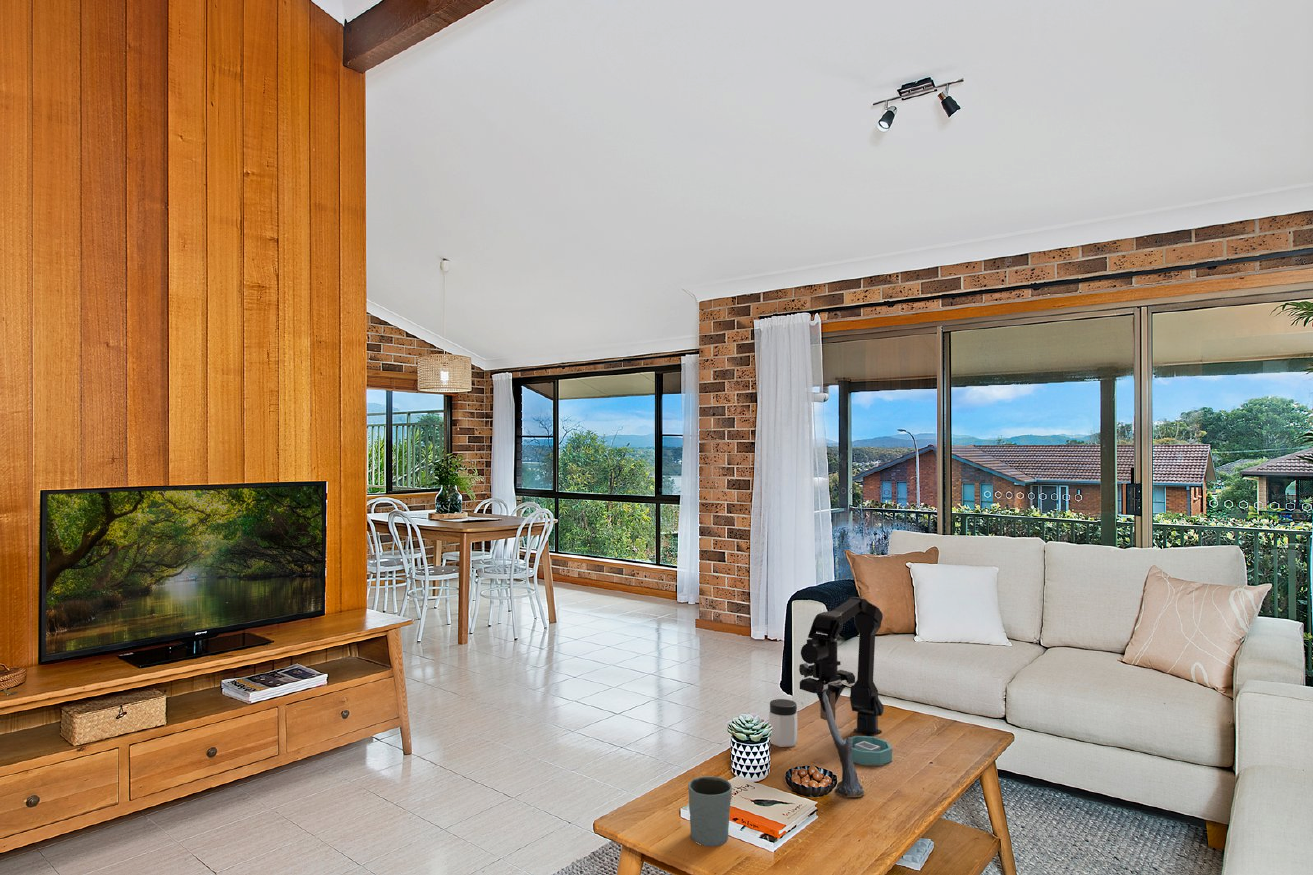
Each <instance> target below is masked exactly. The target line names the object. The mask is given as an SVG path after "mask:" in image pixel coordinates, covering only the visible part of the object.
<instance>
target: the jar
mask: <svg viewBox="0 0 1313 875" xmlns="http://www.w3.org/2000/svg"><path fill="white" fill-rule="evenodd" d="M797 706H798V705H797V703H796V702H795V701H794V700H791V699H785V698H783V699H781V698H780V699H779V698H777V699H773V700H770V702H769V712H768V724H769V723H770V724H771V726H773V728H772V733H771V737H770V742H771V743H770V744H771V745H773V746H777V747H779V748H785V747H786V748H791V747H795V746H796V744H797V743H798V710H797V708H798V707H797Z"/></svg>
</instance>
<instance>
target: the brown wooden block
mask: <svg viewBox="0 0 1313 875" xmlns="http://www.w3.org/2000/svg"><path fill="white" fill-rule="evenodd" d="M829 704H830V706H831V709H832V713H833V717H834V720H835V721H836V704H835V692H831V695H830V700H829ZM819 712H820V719H821V720H824V721H827V718H826V712H824V711H823V709H822V706H821V704H820V711H819Z"/></svg>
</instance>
